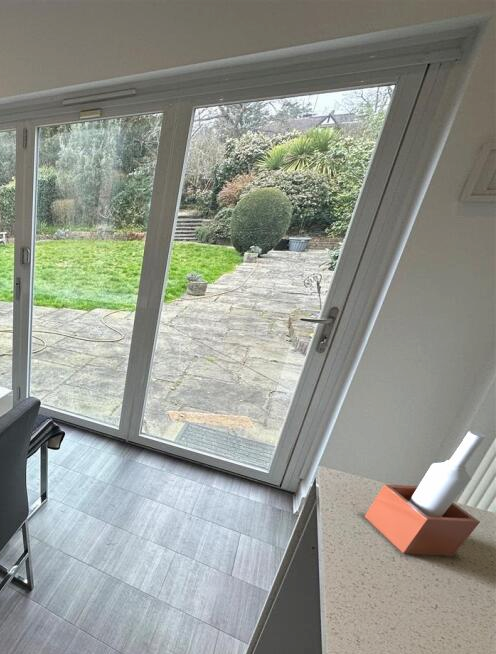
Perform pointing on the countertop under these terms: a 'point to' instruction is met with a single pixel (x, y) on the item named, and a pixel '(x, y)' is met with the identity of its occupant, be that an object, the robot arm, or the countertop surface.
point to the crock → (418, 523)
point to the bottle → (446, 479)
